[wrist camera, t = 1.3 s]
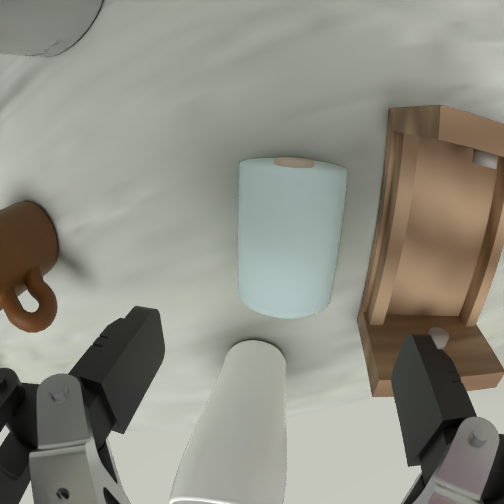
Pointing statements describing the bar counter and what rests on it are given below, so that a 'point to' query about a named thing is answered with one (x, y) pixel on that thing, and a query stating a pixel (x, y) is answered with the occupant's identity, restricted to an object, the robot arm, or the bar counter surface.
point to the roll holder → (435, 242)
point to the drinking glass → (239, 434)
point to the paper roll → (289, 234)
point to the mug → (27, 264)
